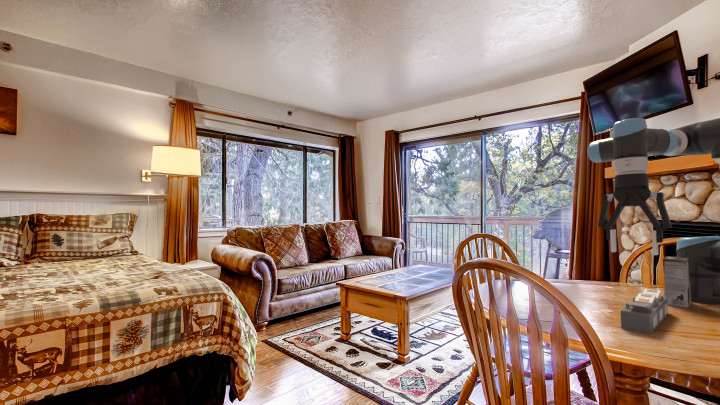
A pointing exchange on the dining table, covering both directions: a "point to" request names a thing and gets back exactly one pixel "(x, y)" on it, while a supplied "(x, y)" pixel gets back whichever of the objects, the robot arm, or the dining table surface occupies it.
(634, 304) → the rocker front
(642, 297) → the rocker middle
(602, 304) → the dining table surface
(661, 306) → the power strip
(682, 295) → the coffee box
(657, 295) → the rocker back
